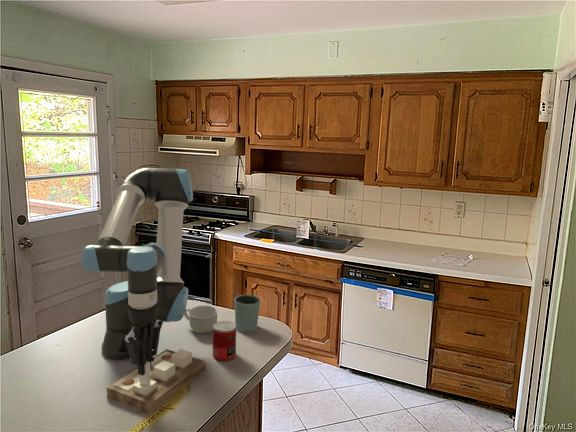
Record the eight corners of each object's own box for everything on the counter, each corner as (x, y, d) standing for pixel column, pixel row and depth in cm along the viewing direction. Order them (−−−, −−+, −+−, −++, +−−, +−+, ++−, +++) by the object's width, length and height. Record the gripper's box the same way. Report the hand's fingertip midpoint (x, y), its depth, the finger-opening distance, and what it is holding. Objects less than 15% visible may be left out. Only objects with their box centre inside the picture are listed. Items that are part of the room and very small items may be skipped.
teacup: (223, 329, 166) (223, 309, 164) (203, 339, 157) (203, 319, 155) (196, 319, 173) (196, 301, 172) (176, 329, 164) (176, 309, 163)
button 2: (171, 367, 134) (171, 355, 133) (180, 361, 138) (180, 348, 137) (182, 371, 132) (182, 358, 131) (191, 365, 136) (191, 352, 135)
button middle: (153, 380, 127) (153, 367, 126) (163, 373, 131) (163, 360, 130) (165, 384, 125) (165, 371, 124) (175, 377, 129) (175, 364, 128)
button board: (107, 396, 121) (106, 386, 121) (166, 357, 144) (166, 348, 143) (150, 414, 115) (150, 403, 114) (205, 369, 137) (205, 360, 136)
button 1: (133, 399, 120) (133, 385, 119) (145, 391, 124) (144, 377, 123) (145, 404, 118) (145, 389, 118) (156, 395, 122) (156, 381, 121)
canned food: (231, 362, 142) (232, 332, 140) (208, 359, 144) (209, 328, 141) (238, 351, 149) (239, 322, 147) (217, 348, 151) (217, 319, 149)
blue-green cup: (229, 325, 169) (229, 297, 167) (251, 320, 175) (252, 292, 172) (241, 336, 161) (242, 306, 158) (264, 330, 167) (265, 301, 164)
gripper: (135, 315, 108) (138, 399, 113) (170, 299, 120) (171, 375, 125) (114, 309, 112) (117, 391, 116) (149, 293, 123) (151, 368, 128)
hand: (145, 382), depth 120 cm, fingers closed
